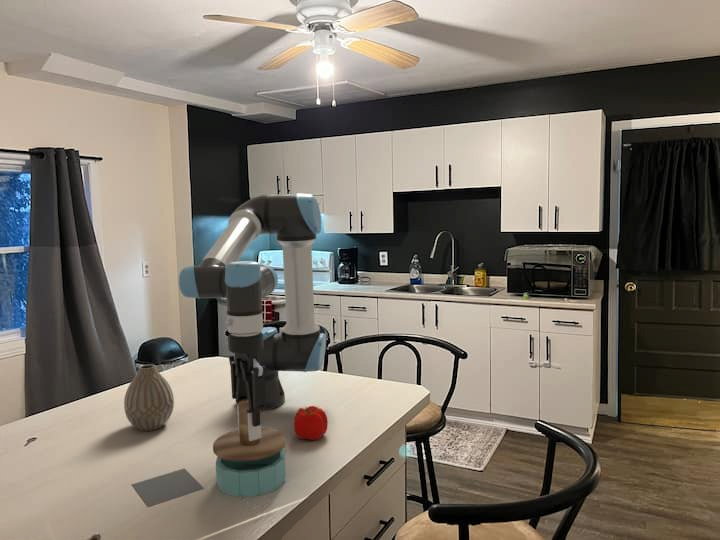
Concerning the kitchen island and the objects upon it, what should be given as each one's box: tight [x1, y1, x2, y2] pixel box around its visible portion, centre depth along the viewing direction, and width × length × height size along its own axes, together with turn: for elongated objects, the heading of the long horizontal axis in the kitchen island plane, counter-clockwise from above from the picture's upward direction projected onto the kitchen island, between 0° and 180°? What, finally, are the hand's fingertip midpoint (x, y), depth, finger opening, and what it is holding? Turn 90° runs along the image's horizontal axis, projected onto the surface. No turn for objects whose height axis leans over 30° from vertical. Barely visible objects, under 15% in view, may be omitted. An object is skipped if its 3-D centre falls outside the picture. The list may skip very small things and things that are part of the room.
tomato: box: [293, 405, 329, 441], centre depth 149 cm, size 9×9×8 cm
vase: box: [123, 363, 175, 432], centre depth 157 cm, size 13×13×18 cm
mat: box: [131, 468, 205, 508], centre depth 123 cm, size 12×12×1 cm
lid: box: [212, 399, 287, 461], centre depth 124 cm, size 16×16×10 cm
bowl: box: [215, 448, 287, 498], centre depth 125 cm, size 15×15×6 cm
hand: (249, 435), depth 124 cm, fingers closed on lid, 4 cm apart
